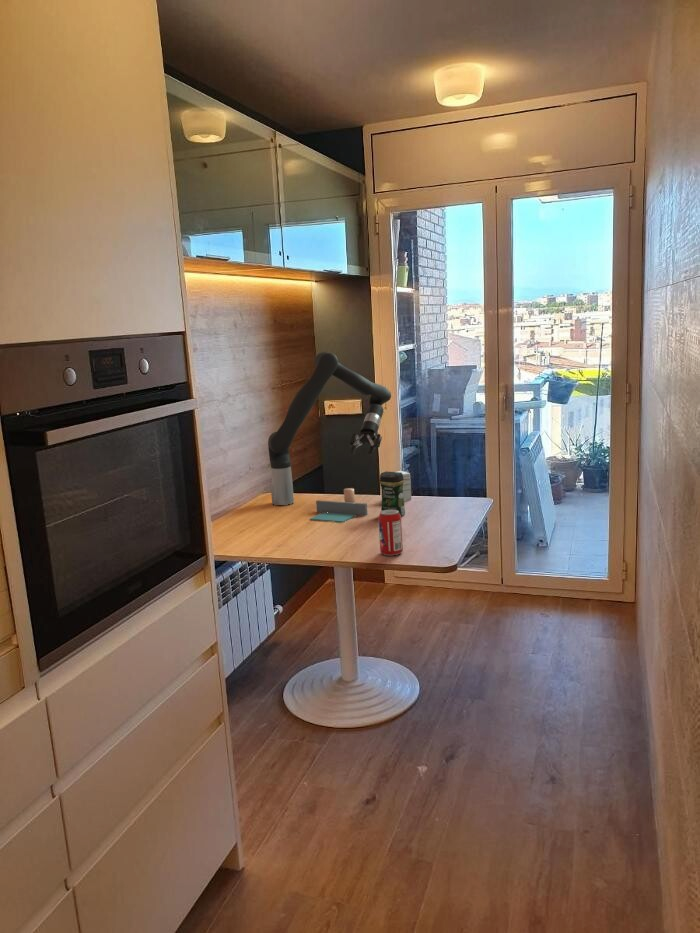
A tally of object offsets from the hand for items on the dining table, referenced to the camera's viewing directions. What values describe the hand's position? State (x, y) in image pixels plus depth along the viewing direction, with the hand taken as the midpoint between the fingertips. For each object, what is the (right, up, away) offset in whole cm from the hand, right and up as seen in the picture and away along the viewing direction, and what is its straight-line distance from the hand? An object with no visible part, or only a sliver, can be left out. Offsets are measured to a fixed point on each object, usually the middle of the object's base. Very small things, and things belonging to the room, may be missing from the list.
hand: (361, 454), depth 328 cm
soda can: (+9, -36, -75) cm, 84 cm away
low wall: (-9, -26, -15) cm, 31 cm away
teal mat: (-12, -27, -22) cm, 37 cm away
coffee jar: (+13, -26, -24) cm, 38 cm away
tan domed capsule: (-5, -24, -9) cm, 26 cm away
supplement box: (+18, -21, +2) cm, 28 cm away
